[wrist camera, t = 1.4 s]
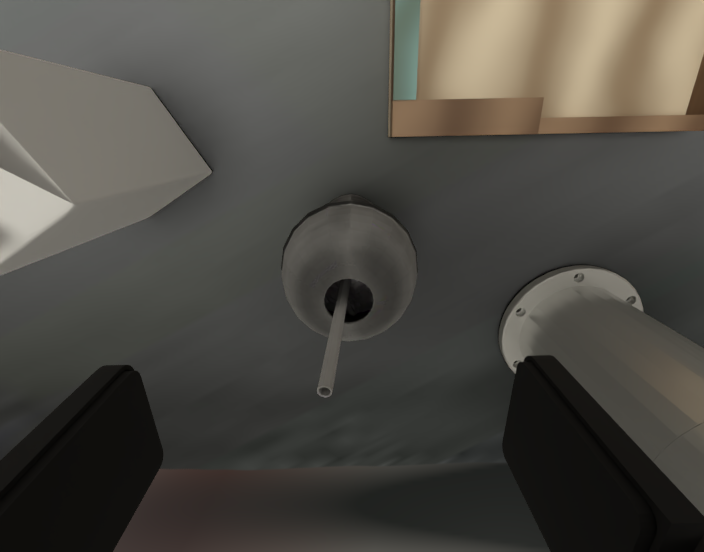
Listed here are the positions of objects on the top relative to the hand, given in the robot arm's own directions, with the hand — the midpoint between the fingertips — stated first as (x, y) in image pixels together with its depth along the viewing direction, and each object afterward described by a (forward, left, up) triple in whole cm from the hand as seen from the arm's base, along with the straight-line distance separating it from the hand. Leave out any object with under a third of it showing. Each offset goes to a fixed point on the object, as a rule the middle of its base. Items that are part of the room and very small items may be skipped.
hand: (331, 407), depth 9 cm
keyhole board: (-8, -18, -22) cm, 29 cm away
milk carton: (+16, +1, -22) cm, 27 cm away
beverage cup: (0, 0, -22) cm, 22 cm away
